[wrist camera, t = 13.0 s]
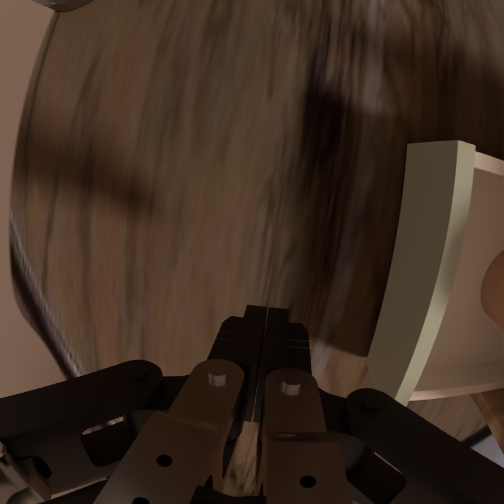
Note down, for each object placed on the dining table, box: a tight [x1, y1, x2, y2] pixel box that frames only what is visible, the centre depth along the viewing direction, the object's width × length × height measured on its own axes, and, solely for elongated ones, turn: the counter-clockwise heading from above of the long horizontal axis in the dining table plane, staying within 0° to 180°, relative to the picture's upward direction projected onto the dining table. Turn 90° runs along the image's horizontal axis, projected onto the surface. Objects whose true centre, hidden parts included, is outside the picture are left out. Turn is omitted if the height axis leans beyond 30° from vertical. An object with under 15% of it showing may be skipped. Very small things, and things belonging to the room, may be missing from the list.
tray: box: [366, 140, 504, 407], centre depth 14 cm, size 15×13×6 cm
